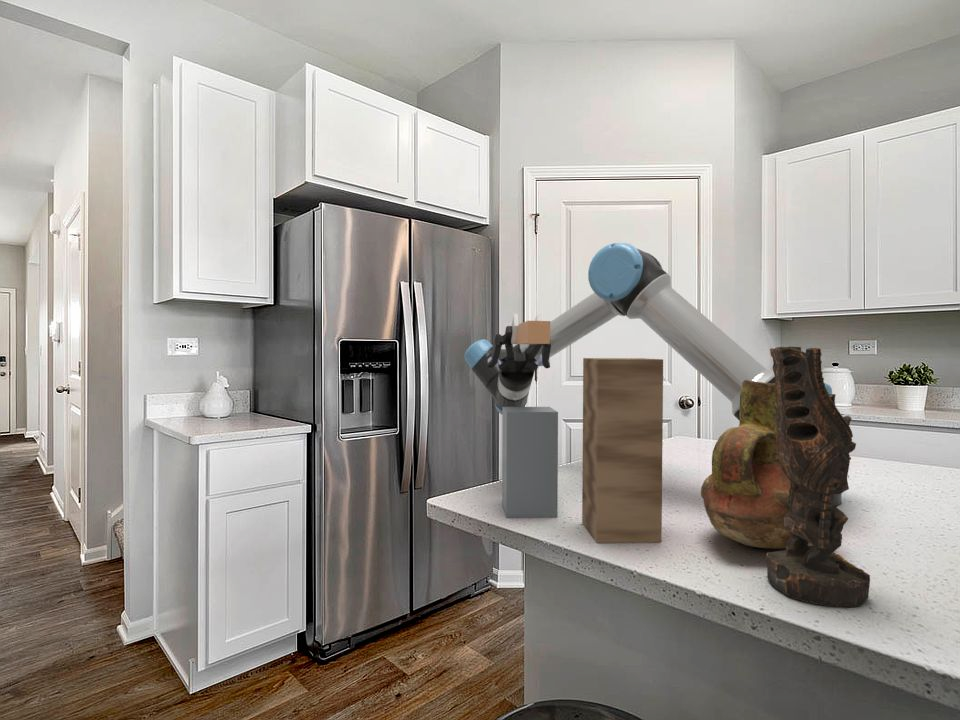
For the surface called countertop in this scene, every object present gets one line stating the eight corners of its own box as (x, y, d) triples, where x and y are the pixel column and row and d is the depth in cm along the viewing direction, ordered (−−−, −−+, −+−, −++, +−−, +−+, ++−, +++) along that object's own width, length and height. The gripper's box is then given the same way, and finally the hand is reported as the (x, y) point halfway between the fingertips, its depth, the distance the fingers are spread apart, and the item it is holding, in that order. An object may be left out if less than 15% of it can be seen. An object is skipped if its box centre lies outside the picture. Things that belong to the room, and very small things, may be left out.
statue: (882, 612, 64) (887, 346, 63) (782, 603, 66) (785, 346, 66) (843, 576, 74) (847, 346, 74) (757, 569, 76) (760, 346, 76)
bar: (512, 344, 116) (512, 326, 116) (529, 344, 116) (530, 326, 116) (527, 343, 91) (528, 320, 91) (549, 343, 91) (550, 321, 91)
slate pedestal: (502, 503, 108) (502, 406, 108) (549, 503, 109) (549, 406, 108) (506, 517, 99) (506, 412, 99) (557, 517, 100) (558, 412, 99)
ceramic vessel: (856, 538, 89) (858, 378, 89) (792, 582, 72) (795, 385, 72) (745, 514, 102) (747, 374, 102) (669, 547, 85) (671, 379, 84)
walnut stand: (582, 522, 97) (583, 358, 96) (640, 522, 97) (641, 358, 96) (596, 543, 87) (598, 359, 86) (661, 542, 87) (663, 359, 86)
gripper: (554, 392, 125) (574, 337, 104) (478, 392, 124) (483, 336, 103) (551, 362, 128) (570, 303, 108) (477, 361, 128) (482, 302, 107)
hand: (527, 319), depth 106 cm, fingers closed on bar, 4 cm apart
